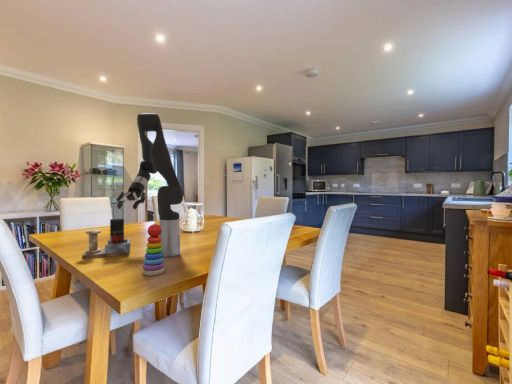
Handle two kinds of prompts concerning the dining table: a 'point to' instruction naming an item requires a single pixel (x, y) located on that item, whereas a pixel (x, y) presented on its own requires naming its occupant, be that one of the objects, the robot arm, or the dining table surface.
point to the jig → (109, 248)
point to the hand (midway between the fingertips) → (126, 208)
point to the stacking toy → (153, 252)
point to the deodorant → (116, 231)
